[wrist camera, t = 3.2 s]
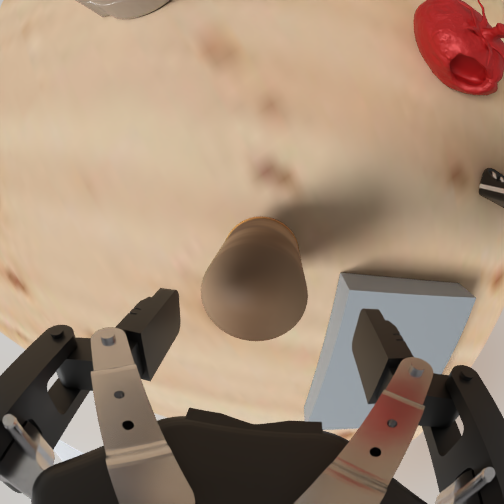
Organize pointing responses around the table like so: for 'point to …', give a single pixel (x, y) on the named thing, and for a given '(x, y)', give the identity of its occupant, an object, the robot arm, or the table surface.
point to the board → (399, 314)
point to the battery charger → (492, 186)
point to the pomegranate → (460, 45)
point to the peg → (256, 281)
